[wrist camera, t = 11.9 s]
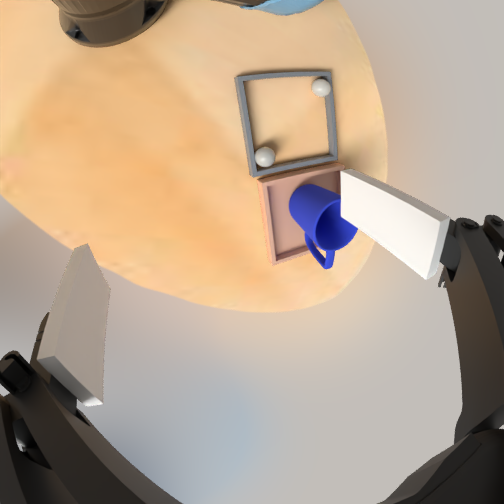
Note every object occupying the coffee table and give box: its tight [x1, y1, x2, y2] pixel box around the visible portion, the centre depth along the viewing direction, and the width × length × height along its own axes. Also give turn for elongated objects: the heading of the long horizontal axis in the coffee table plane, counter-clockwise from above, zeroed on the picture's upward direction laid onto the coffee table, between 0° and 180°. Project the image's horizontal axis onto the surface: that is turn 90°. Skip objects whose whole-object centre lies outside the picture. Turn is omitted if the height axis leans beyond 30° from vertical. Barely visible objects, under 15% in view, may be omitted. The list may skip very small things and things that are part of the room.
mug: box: [289, 184, 358, 269], centre depth 42 cm, size 8×12×10 cm
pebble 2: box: [311, 79, 331, 97], centre depth 34 cm, size 3×3×3 cm
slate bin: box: [234, 72, 338, 177], centre depth 37 cm, size 15×15×1 cm
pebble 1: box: [255, 147, 275, 167], centre depth 38 cm, size 3×3×3 cm
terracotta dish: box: [257, 163, 345, 266], centre depth 45 cm, size 15×15×2 cm
